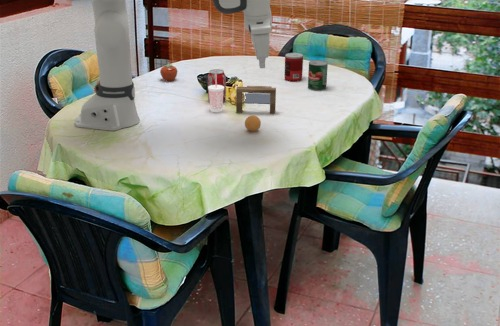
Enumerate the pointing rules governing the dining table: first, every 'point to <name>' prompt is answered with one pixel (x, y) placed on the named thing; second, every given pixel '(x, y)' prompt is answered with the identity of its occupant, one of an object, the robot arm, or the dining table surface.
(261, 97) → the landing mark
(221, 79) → the soda can
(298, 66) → the canned food
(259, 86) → the rail
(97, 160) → the dining table surface
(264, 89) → the bridge
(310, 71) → the canned tomato
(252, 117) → the ball
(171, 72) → the tomato
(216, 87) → the beverage cup
